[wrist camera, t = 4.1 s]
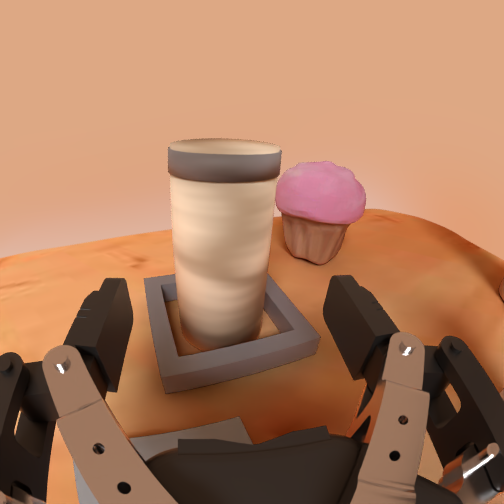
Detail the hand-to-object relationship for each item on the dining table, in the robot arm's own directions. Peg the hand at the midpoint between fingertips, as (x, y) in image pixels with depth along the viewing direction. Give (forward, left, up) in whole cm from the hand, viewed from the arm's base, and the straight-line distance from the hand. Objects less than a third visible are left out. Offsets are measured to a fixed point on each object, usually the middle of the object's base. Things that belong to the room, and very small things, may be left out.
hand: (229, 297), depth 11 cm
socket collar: (-2, -6, -7) cm, 9 cm away
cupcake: (-14, -13, -7) cm, 20 cm away
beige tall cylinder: (-2, -6, -7) cm, 9 cm away
